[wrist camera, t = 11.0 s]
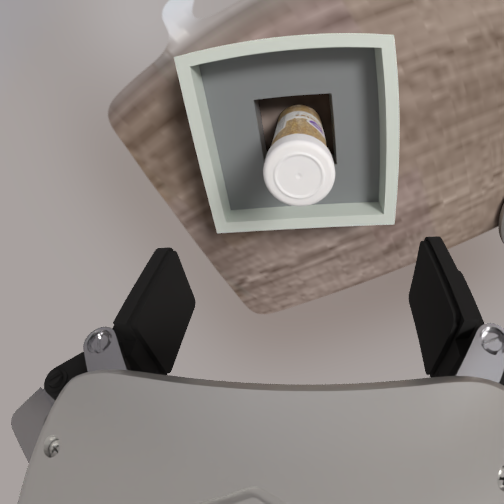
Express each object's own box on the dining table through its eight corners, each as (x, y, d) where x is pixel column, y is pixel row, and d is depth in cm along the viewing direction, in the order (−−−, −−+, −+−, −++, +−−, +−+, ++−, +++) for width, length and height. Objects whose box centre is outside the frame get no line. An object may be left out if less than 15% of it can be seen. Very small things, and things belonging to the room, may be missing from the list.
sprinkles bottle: (329, 118, 28) (350, 166, 17) (307, 153, 30) (311, 220, 20) (289, 95, 27) (284, 127, 16) (268, 132, 30) (249, 188, 19)
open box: (377, 37, 21) (393, 35, 17) (382, 198, 32) (394, 224, 28) (194, 55, 25) (173, 57, 21) (227, 207, 36) (217, 233, 31)
